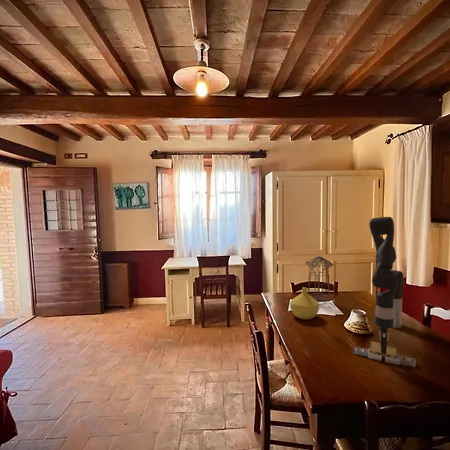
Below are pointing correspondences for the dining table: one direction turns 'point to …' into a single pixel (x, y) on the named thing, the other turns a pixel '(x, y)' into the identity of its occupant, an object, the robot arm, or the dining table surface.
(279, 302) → the dining table surface
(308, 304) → the vase
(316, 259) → the geometric lantern
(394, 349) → the master link
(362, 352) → the chain ends
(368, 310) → the dining table surface
